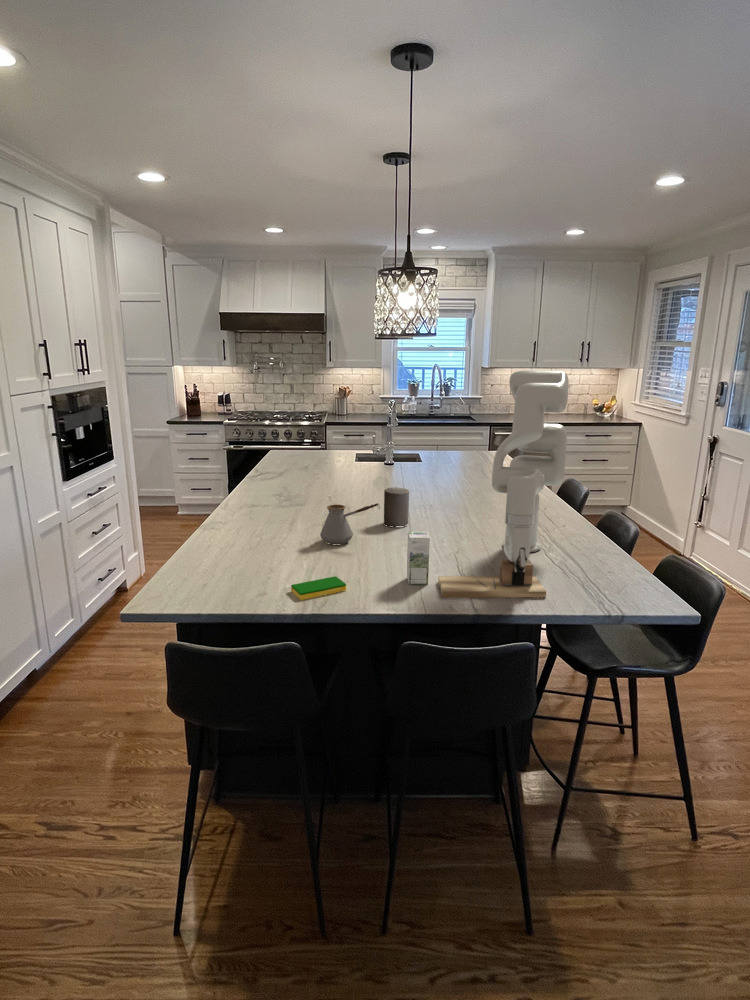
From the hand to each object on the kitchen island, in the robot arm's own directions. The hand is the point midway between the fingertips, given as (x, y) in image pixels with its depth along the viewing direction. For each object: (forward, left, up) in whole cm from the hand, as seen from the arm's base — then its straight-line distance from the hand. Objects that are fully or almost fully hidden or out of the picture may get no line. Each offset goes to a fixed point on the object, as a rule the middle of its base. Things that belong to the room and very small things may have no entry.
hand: (515, 580), depth 161 cm
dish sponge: (+1, -55, -3) cm, 55 cm away
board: (0, -7, -3) cm, 7 cm away
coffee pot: (-41, -48, -3) cm, 63 cm away
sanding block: (0, 0, -1) cm, 1 cm away
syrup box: (-6, -27, -3) cm, 28 cm away
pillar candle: (-64, -31, -3) cm, 71 cm away
